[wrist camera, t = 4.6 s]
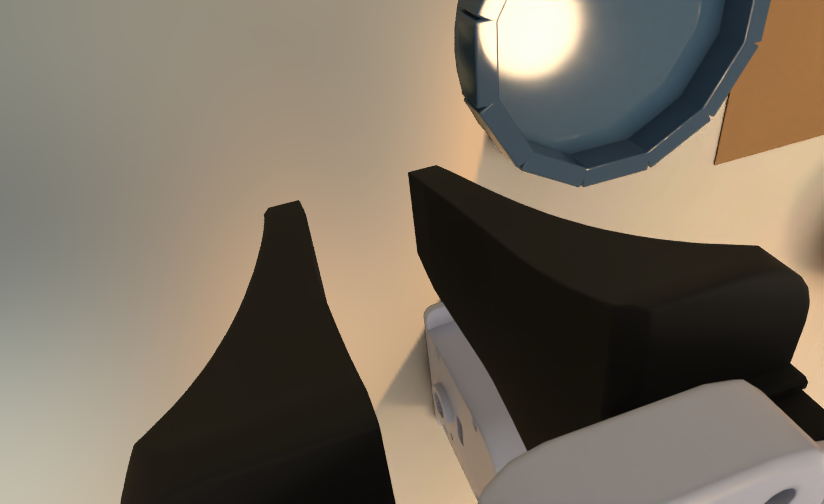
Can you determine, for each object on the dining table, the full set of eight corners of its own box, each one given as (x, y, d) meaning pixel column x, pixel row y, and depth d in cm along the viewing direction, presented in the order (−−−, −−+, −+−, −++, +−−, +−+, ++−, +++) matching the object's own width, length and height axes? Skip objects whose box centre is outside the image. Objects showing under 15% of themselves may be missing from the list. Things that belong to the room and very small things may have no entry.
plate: (455, 184, 24) (481, 216, 23) (433, -146, 18) (467, -142, 16) (695, 121, 27) (737, 145, 25) (753, -194, 20) (817, -195, 18)
